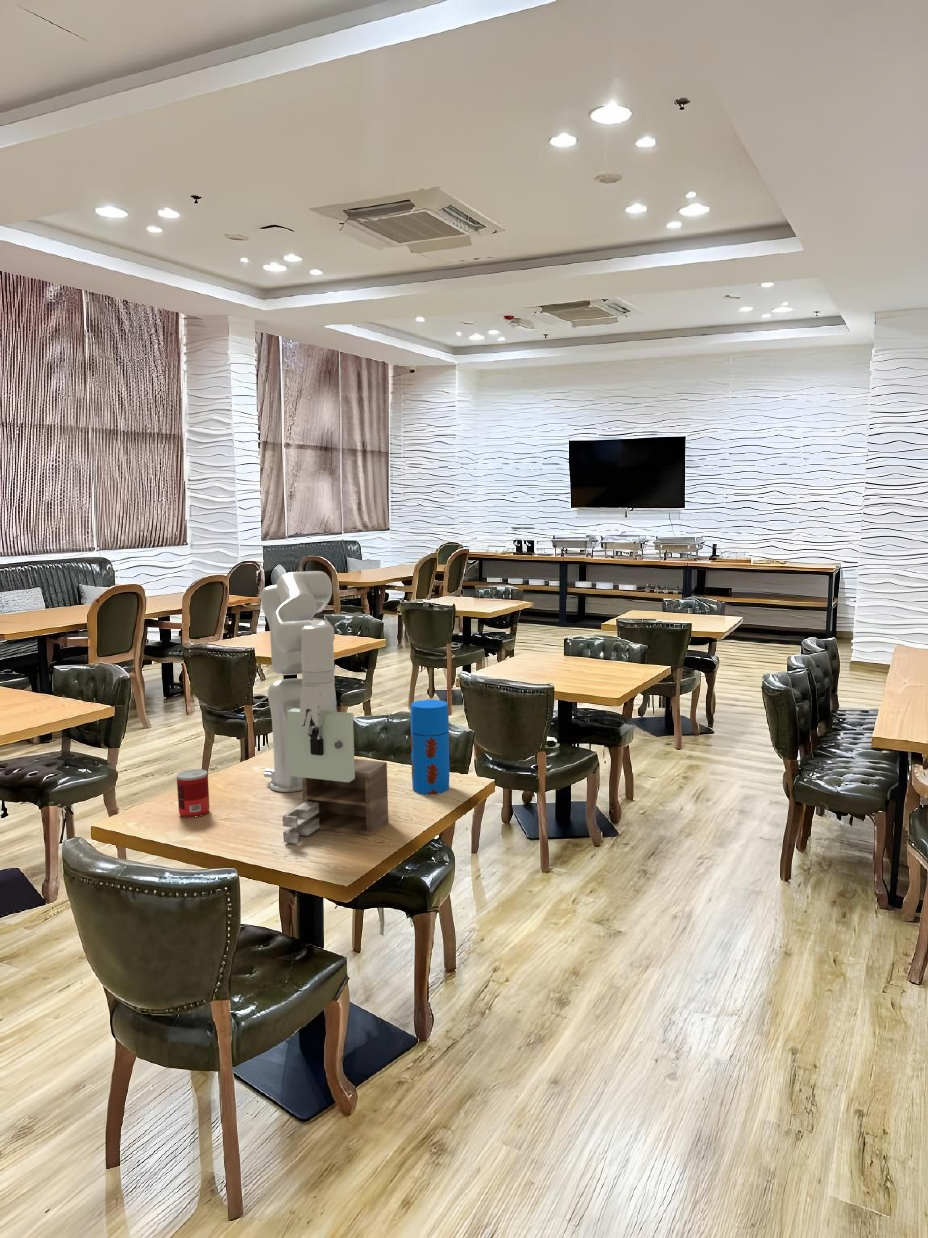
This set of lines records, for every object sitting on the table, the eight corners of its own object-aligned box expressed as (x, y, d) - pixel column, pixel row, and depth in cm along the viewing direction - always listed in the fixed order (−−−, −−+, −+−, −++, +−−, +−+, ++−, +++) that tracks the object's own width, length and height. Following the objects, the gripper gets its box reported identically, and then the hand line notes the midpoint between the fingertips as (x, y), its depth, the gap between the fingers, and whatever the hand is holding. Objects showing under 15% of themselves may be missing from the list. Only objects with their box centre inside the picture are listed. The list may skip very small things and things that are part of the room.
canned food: (215, 810, 235) (213, 771, 233) (195, 820, 228) (192, 779, 226) (193, 806, 238) (191, 767, 237) (172, 816, 231) (170, 776, 229)
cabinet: (280, 843, 211) (277, 779, 209) (323, 814, 231) (321, 755, 229) (350, 853, 205) (348, 787, 202) (388, 822, 224) (386, 762, 222)
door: (287, 777, 209) (284, 712, 206) (296, 772, 212) (293, 708, 210) (346, 783, 203) (344, 717, 201) (354, 778, 207) (352, 713, 205)
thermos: (414, 796, 244) (412, 709, 241) (410, 784, 255) (408, 700, 251) (452, 793, 246) (451, 707, 242) (447, 781, 256) (445, 698, 253)
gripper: (321, 669, 214) (324, 742, 216) (286, 683, 199) (289, 760, 201) (348, 671, 211) (351, 744, 214) (315, 685, 196) (317, 763, 199)
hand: (321, 751), depth 207 cm, fingers closed on door, 3 cm apart
